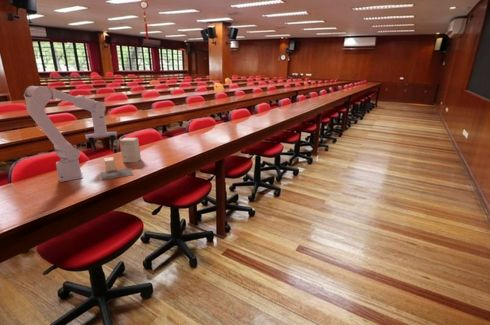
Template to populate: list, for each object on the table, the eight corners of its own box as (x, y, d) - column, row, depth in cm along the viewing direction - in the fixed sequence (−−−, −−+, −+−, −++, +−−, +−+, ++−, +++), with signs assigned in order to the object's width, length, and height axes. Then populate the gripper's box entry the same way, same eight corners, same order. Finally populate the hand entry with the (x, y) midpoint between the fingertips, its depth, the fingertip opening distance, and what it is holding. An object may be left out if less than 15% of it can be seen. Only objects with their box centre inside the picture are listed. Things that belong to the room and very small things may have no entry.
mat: (102, 180, 130) (102, 180, 130) (100, 172, 140) (100, 172, 139) (133, 175, 136) (133, 174, 136) (129, 167, 146) (129, 167, 146)
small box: (141, 159, 161) (138, 137, 156) (137, 162, 155) (134, 140, 150) (127, 159, 161) (124, 137, 157) (122, 162, 155) (119, 140, 151)
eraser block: (106, 171, 142) (104, 161, 140) (105, 167, 147) (104, 158, 145) (116, 169, 144) (114, 159, 142) (114, 166, 149) (113, 156, 147)
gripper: (114, 122, 147) (118, 146, 151) (83, 125, 140) (88, 150, 144) (115, 124, 141) (119, 149, 145) (83, 127, 134) (88, 153, 139)
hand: (104, 150), depth 144 cm, fingers open, 7 cm apart
